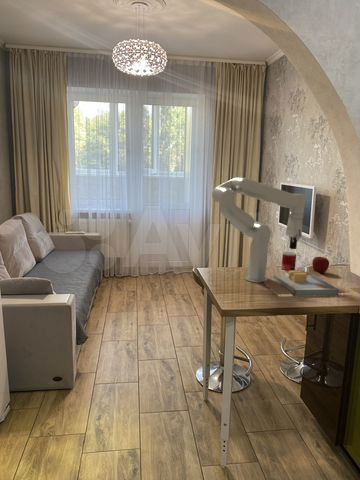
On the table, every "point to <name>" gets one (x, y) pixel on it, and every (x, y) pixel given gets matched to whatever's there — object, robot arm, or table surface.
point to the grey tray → (308, 287)
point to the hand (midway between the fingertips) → (292, 248)
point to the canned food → (288, 261)
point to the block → (297, 276)
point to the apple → (320, 264)
